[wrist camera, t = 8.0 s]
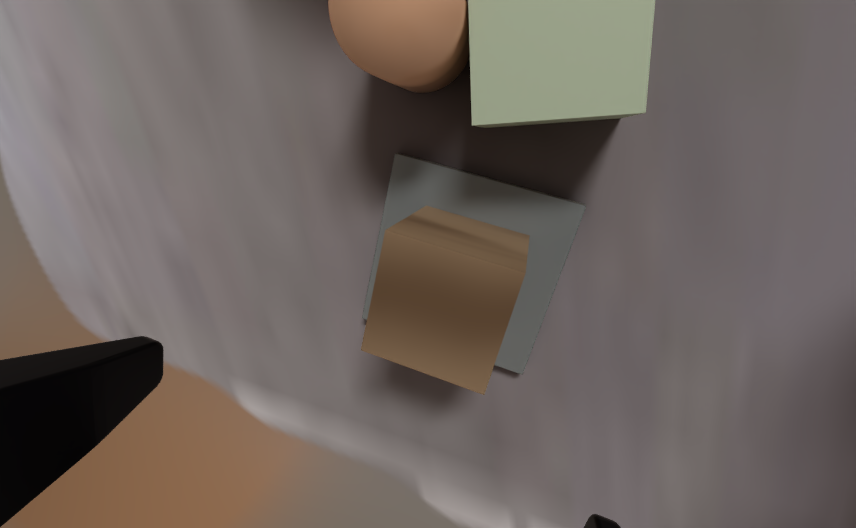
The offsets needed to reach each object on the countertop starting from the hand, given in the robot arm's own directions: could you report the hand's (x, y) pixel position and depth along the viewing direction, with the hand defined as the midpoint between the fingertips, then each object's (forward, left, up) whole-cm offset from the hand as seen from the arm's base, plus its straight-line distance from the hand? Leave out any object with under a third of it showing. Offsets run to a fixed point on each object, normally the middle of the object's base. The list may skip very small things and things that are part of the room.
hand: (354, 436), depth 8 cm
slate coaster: (0, 0, -11) cm, 11 cm away
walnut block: (0, 0, -11) cm, 11 cm away
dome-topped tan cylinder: (+4, -9, -11) cm, 15 cm away
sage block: (-1, -9, -12) cm, 15 cm away
